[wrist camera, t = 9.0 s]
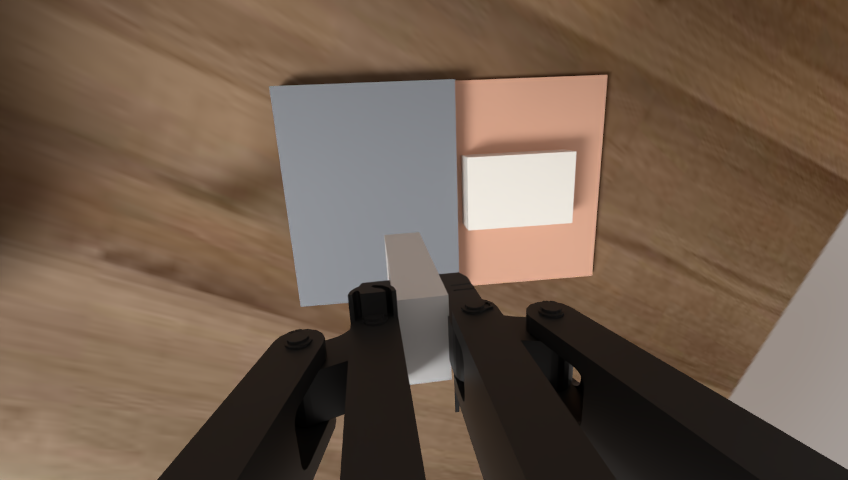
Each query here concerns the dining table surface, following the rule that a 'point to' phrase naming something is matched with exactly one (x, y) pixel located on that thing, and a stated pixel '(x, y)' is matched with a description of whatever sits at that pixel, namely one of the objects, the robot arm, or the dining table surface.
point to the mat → (532, 131)
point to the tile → (518, 189)
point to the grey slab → (365, 178)
